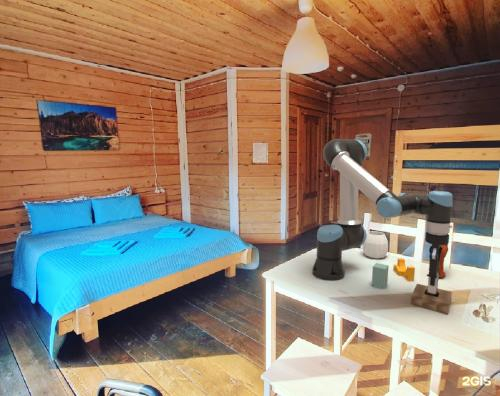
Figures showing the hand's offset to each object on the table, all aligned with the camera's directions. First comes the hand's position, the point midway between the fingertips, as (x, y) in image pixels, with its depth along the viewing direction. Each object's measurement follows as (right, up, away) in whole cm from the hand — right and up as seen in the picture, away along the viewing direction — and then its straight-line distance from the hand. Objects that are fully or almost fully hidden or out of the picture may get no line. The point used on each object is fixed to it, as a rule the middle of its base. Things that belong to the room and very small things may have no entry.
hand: (432, 291), depth 112 cm
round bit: (0, -2, 0) cm, 2 cm away
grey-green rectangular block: (-13, -3, +16) cm, 21 cm away
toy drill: (+22, 0, +29) cm, 36 cm away
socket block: (0, -5, +1) cm, 5 cm away
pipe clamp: (+2, -1, +26) cm, 26 cm away
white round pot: (0, +3, +51) cm, 52 cm away
